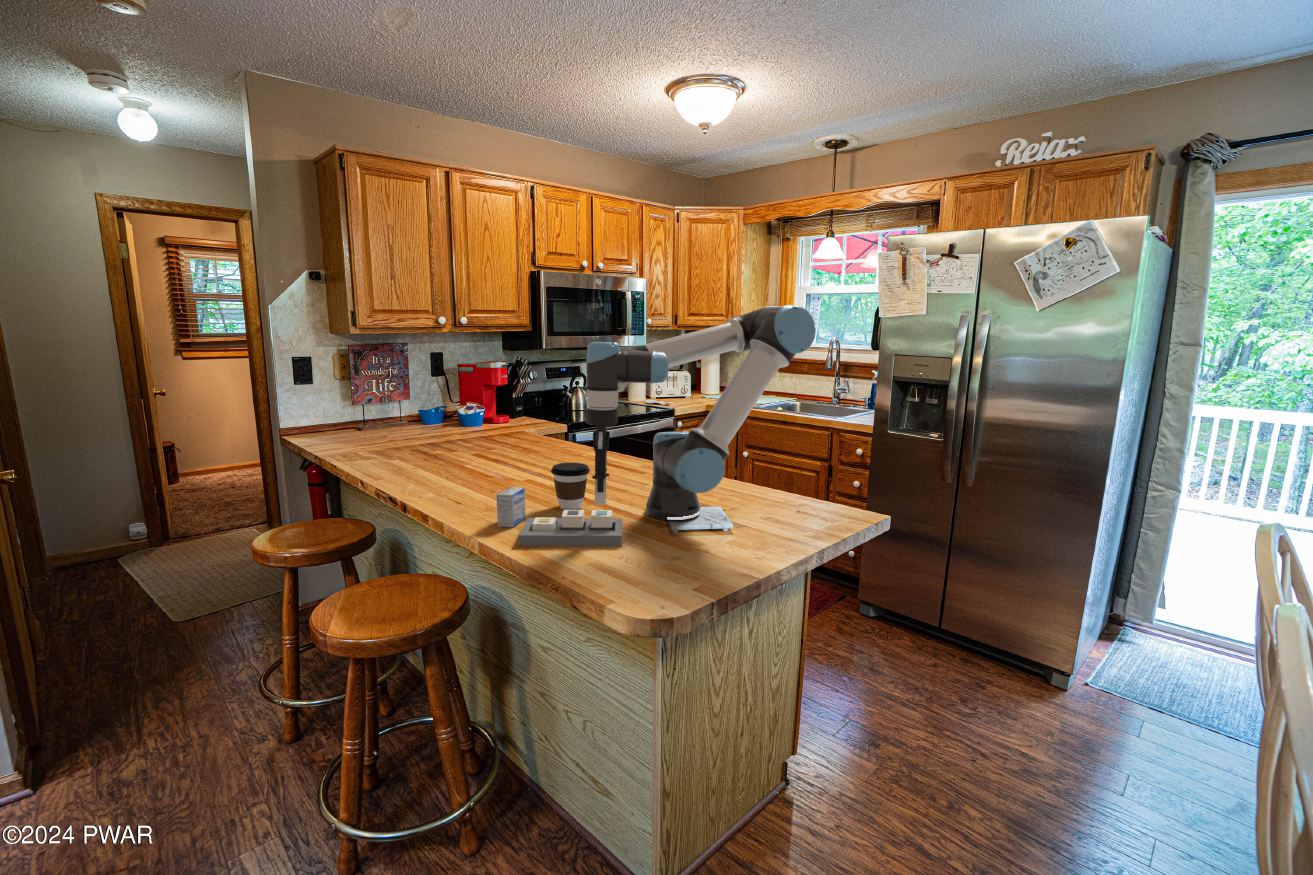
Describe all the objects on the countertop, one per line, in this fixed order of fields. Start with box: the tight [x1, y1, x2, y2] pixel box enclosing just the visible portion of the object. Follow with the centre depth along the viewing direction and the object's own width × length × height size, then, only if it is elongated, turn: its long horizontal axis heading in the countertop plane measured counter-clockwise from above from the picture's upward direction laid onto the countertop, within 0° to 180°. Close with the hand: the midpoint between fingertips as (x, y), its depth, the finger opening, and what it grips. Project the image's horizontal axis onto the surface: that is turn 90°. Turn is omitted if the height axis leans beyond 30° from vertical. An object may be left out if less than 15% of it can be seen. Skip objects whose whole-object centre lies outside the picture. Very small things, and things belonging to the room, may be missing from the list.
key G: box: [532, 516, 557, 531], centre depth 145 cm, size 5×5×3 cm
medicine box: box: [496, 486, 526, 529], centre depth 154 cm, size 8×4×9 cm, turn 168°
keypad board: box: [518, 517, 623, 547], centre depth 145 cm, size 24×13×3 cm, turn 93°
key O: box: [590, 509, 613, 528], centre depth 145 cm, size 5×5×3 cm
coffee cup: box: [550, 462, 591, 511], centre depth 169 cm, size 11×11×12 cm
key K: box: [561, 509, 585, 528], centre depth 145 cm, size 5×5×3 cm
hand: (600, 503), depth 144 cm, fingers closed
